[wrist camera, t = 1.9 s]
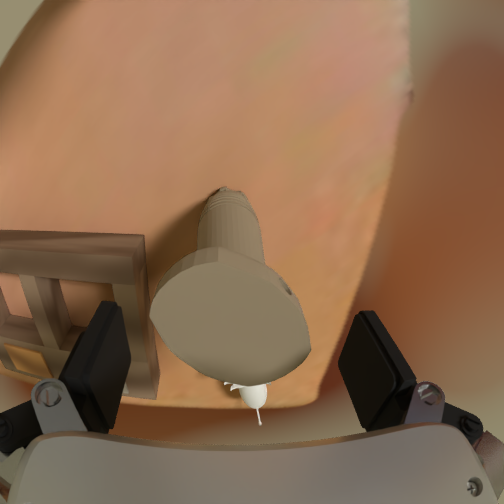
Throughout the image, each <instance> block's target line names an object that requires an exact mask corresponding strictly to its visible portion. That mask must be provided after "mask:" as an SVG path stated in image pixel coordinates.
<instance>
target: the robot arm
mask: <svg viewBox="0 0 504 504" xmlns="http://www.w3.org/2000/svg"><path fill="white" fill-rule="evenodd" d="M130 364H131V352H130V348H129V343H128V339H127V334H126V329H125V324H124V318H123V313H122V308H121V306H118V305H117V303H116V302H111V301H102V302H101V303H100V305H99V307H98V309H97V310H96V312H95V314H94V316H93V318H92V320H91V322H90V324H89V325H88V327H87V329H86V331H82V332H81V333H80V335H79V337H78V339H77V341H76V343H75V345H74V347H73V349H72V351H71V353H70V355H69V357H68V359H67V361H66V363H65V365H64V367H63V369H62V371H61V373H60V375H59V378H58V380H57V379H54V378H48V379H43V380H41V381H40V382H38V383H37V384H36V385H35V386H34V388H33V389H32V392H31V400H29V401H27V402H25V403H23V404H20V405H18V406H16V407H13V408H11V409H9V410H7V411H4V412H2V413H0V504H499V503H498V499H499V497H500V495H501V493H502V491H503V489H504V444H503V442H501V441H500V440H499V439H497V438H496V437H495V436H493V435H492V434H491V433H490V432H488V431H485V432H483V425H482V422H481V421H480V419H479V418H478V417H477V416H475V415H473V414H471V413H469V412H467V411H464V410H462V409H460V408H457V407H455V406H453V405H450V404H448V403H446V402H445V395H444V392H443V391H442V389H441V388H440V387H439V386H438V385H436V384H434V383H432V382H428V381H423V382H420V383H417V382H416V377H415V375H414V373H413V372H412V370H411V368H410V366H409V365H408V363H407V362H406V360H405V358H404V357H403V355H402V353H401V352H400V350H399V349H398V347H397V345H396V344H395V342H394V341H393V339H392V338H391V336H390V334H389V333H388V331H387V330H386V328H385V327H384V325H383V324H382V322H381V321H380V319H379V317H378V316H377V315H376V313H375V312H374V311H360V312H359V313H358V314H357V315H355V317H354V320H353V323H352V326H351V328H350V331H349V334H348V336H347V339H346V342H345V344H344V347H343V350H342V352H341V355H340V357H339V360H338V367H339V370H340V372H341V375H342V377H343V380H344V382H345V385H346V387H347V390H348V392H349V395H350V398H351V400H352V403H353V405H354V408H355V411H356V413H357V416H358V419H359V421H360V424H361V426H362V428H365V429H366V431H367V432H365V433H359V434H354V435H348V436H342V437H336V438H328V439H321V440H312V441H303V442H293V443H281V444H280V443H279V444H263V445H262V444H260V445H207V444H187V443H175V442H164V441H154V440H146V439H138V438H131V437H124V436H118V435H111V434H108V432H109V429H113V427H114V424H115V420H116V415H117V412H118V408H119V404H120V400H121V397H122V393H123V389H124V385H125V382H126V378H127V375H128V371H129V368H130Z"/></svg>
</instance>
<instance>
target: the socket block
mask: <svg viewBox="0 0 504 504" xmlns="http://www.w3.org/2000/svg"><path fill="white" fill-rule="evenodd" d="M0 272H4V273H12V274H19V278H20V281H21V284H22V288H23V291H24V294H25V297H26V300H27V303H28V306H29V308H30V311H31V314H32V317H33V319H30V318H25V317H20V316H15V315H11V314H10V312H9V310H8V307H7V305H6V302H5V299H4V296H3V294H2V291H1V288H0V359H1V361H2V363H3V365H4V366H5V368H6V369H9V370H12V371H16V372H19V373H22V374H25V375H29V376H32V377H36V378H39V379H48V378H54V379H57V380H58V378H59V375H60V373H61V371H62V369H63V367H64V365H65V363H66V361H67V359H68V357H69V355H70V353H71V351H72V349H73V347H74V345H75V343H76V341H77V339H78V337H79V335H80V333H81V332H82V331H86V329H87V328H84V327H77V326H72V324H71V321H70V318H69V315H68V312H67V308H66V305H65V301H64V298H63V294H62V290H61V287H60V283H59V279H66V280H76V281H87V282H99V283H111V284H112V288H113V294H114V299H115V302H116V303H117V305H118V306H121V308H122V313H123V318H124V324H125V329H126V334H127V339H128V343H129V348H130V352H131V364H130V368H129V371H128V375H127V378H126V382H125V385H124V389H123V393H122V396H128V397H135V398H143V399H152V400H156V398H157V391H158V385H159V379H160V369H159V363H158V358H157V351H156V345H155V338H154V331H153V324H152V320H151V318H150V316H149V315H150V300H149V290H148V280H147V269H146V256H145V241H144V235H137V234H113V233H86V232H57V231H24V230H0Z"/></svg>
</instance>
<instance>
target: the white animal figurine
mask: <svg viewBox="0 0 504 504" xmlns="http://www.w3.org/2000/svg"><path fill="white" fill-rule="evenodd" d="M226 384H232V383H228V382H224V385H226ZM266 384H270V385H271V382H269V383H266ZM266 384H262V385H257V386H249V387H247V386H242V385H237V384H233V385H232V386H231V388H230V390H231V391H232V390H233V389H236V388H239V392H240V395H241V397H242V399H243V401H244V402H245V403H246V404H247V405H248V406H249V407H251V408H255V409H257V414H258V419H259V425H260V426H261V424H262V423H261V422H260V417H259V412H258V408H260V407H262V406H263V405H264V403H265V401H266V398H267V388H266Z"/></svg>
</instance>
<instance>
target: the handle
mask: <svg viewBox="0 0 504 504" xmlns="http://www.w3.org/2000/svg"><path fill="white" fill-rule="evenodd" d="M149 316H150V318H151V320H152V322H153V324H154V326H155V328H156V329H157V331H158V333H159V335H160V336H161V338H162V340H163V341H164V343H165V344H166V346H167V347H168V348H169V349H170V351H171V352H172V353H173V354H175V355H176V356H177V357H178V358H179V359H181V360H182V361H184V362H185V363H187V364H188V365H189V366H191V367H192V368H194V369H195V370H197V371H198V372H200V373H202V374H204V375H206V376H208V377H211V378H214V379H216V380H220V381H224V382H228V383H232V384H237V385H242V386H247V387H249V386H257V385H262V384H266V383H269V382H272V381H275V380H277V379H279V378H281V377H283V376H285V375H287V374H288V373H290V372H291V371H293V370H294V369H296V368H297V367H298V366H299V365H300V364H302V363H303V361H304V360H305V359H306V358H307V356H308V355H309V353H310V351H311V344H310V337H309V331H308V326H307V323H306V320H305V318H304V314H303V311H302V308H301V305H300V303H299V300H298V298H297V297H296V295H295V294H294V293H293V291H292V290H291V289H290V287H289V286H288V285H287V284H286V282H285V281H284V280H283V278H282V277H281V276H280V275H279V274H278V273H277V272H275V271H274V270H273V269H272V268H270V267H268V266H267V265H265V258H264V252H263V245H262V237H261V230H260V226H259V222H258V219H257V216H256V214H255V212H254V210H253V208H252V206H251V204H250V203H249V201H248V199H247V197H246V195H245V194H244V193H243V192H241V191H233V190H230V189H228V188H227V187H221V188H220V189H219V191H218V192H217V193H216V194H215V195H213V196H210V197H209V199H208V201H207V203H206V205H205V207H204V209H203V211H202V214H201V217H200V221H199V225H198V234H197V251H194V252H192V253H190V254H188V255H186V256H185V257H183V258H182V259H180V260H179V261H178V262H176V263H175V264H174V265H173V266H172V267H171V268H170V269H169V270H168V271H167V272H166V273H165V274H164V276H163V277H162V279H161V280H160V282H159V284H158V286H157V289H156V292H155V295H154V298H153V301H152V305H151V308H150V315H149Z"/></svg>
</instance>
